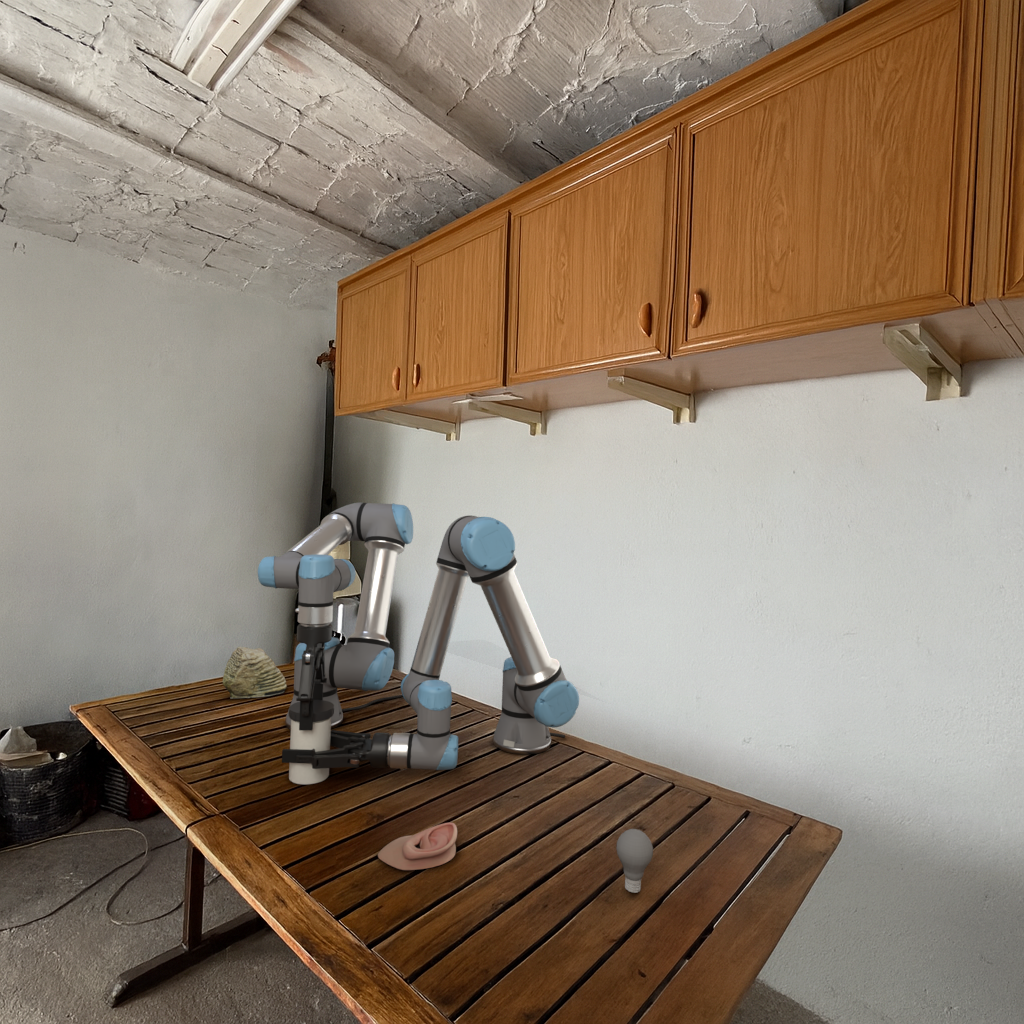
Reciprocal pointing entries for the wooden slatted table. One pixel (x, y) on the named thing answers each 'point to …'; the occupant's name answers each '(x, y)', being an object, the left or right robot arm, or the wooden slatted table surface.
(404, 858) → the anatomical model
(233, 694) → the fossil
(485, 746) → the wooden slatted table surface
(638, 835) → the light bulb
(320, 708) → the lid
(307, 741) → the jar
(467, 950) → the wooden slatted table surface
